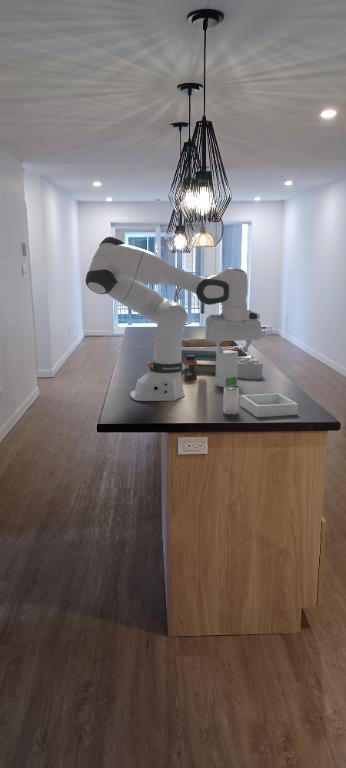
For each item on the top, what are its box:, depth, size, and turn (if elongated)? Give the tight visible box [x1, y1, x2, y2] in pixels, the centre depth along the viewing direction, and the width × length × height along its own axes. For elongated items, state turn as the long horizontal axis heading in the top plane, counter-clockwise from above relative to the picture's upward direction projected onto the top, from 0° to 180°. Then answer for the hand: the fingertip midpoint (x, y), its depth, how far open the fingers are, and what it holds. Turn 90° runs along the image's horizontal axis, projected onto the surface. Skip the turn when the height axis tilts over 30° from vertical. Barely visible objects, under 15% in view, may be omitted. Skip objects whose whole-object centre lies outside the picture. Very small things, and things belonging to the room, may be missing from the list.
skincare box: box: [214, 349, 239, 389], centre depth 237 cm, size 8×7×16 cm
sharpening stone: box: [181, 346, 231, 374], centre depth 268 cm, size 25×8×11 cm, turn 80°
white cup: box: [222, 386, 240, 415], centre depth 196 cm, size 6×6×9 cm
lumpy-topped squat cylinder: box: [237, 357, 264, 380], centre depth 257 cm, size 10×13×9 cm
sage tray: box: [239, 392, 299, 418], centre depth 200 cm, size 16×16×4 cm
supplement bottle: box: [183, 355, 198, 381], centre depth 249 cm, size 6×6×11 cm
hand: (232, 352), depth 191 cm, fingers open, 8 cm apart
